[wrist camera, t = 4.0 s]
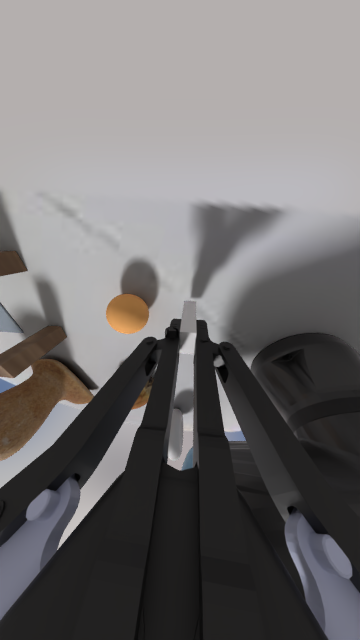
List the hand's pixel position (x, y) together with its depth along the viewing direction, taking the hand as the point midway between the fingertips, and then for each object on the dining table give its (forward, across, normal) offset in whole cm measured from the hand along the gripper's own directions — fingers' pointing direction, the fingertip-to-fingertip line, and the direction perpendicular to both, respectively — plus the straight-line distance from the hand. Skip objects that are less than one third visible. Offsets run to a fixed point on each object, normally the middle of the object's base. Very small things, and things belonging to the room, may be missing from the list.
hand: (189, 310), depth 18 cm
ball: (0, +8, +1) cm, 8 cm away
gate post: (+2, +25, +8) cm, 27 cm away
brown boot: (+2, +31, +22) cm, 38 cm away
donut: (+2, +2, +34) cm, 34 cm away
